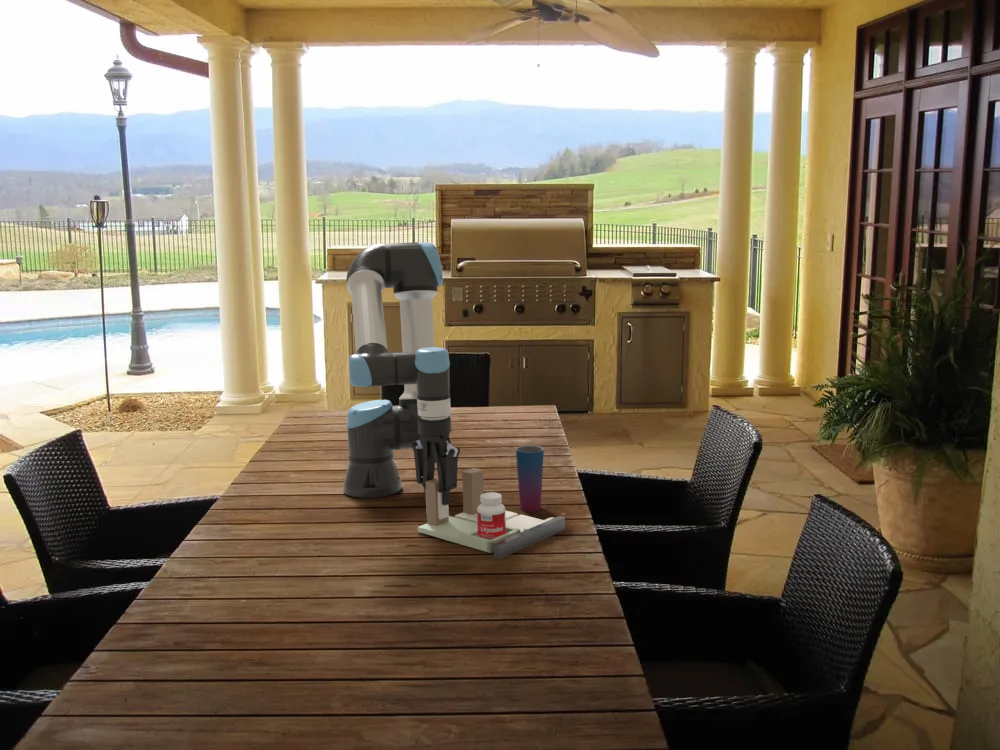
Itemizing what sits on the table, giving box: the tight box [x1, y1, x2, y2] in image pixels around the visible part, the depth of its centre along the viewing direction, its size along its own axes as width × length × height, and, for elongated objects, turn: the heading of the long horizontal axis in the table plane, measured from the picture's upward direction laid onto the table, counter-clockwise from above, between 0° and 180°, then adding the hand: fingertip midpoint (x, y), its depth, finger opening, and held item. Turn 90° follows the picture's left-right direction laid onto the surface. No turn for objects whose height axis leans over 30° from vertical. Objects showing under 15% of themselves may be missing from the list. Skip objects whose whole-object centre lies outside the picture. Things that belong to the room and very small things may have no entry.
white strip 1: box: [454, 467, 519, 523], centre depth 222 cm, size 11×10×11 cm
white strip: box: [506, 514, 555, 532], centre depth 215 cm, size 10×10×2 cm
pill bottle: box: [477, 491, 506, 540], centre depth 206 cm, size 6×6×11 cm
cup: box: [515, 444, 545, 512], centre depth 230 cm, size 7×7×15 cm
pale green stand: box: [417, 477, 520, 554], centre depth 211 cm, size 22×10×11 cm, turn 49°
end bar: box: [493, 515, 566, 560], centre depth 207 cm, size 2×23×3 cm, turn 140°
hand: (437, 515), depth 218 cm, fingers closed on pale green stand, 3 cm apart
